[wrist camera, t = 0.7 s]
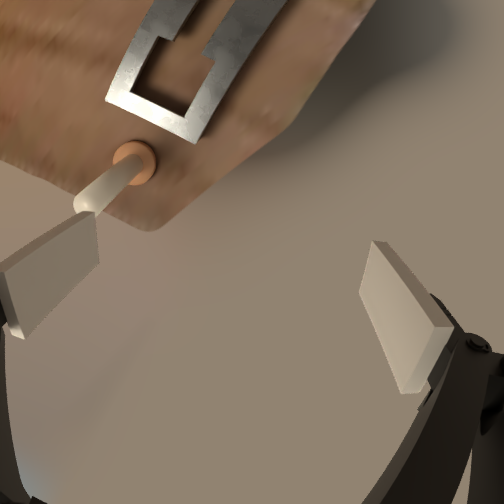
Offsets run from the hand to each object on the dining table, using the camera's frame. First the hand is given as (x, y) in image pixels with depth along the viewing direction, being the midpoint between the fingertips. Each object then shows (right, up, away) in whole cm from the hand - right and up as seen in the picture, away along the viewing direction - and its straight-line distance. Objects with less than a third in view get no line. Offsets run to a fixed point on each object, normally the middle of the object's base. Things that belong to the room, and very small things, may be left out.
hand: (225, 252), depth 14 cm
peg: (-14, +12, +25) cm, 31 cm away
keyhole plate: (-5, +26, +16) cm, 30 cm away
